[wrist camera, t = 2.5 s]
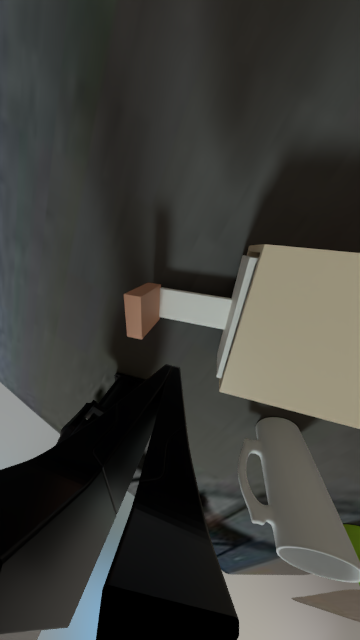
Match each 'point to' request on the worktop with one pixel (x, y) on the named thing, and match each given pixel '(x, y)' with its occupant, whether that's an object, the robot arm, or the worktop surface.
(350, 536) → the soap dispenser
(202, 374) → the worktop surface
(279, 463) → the mug
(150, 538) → the robot arm
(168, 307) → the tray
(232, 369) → the cream cardboard box
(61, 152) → the worktop surface
